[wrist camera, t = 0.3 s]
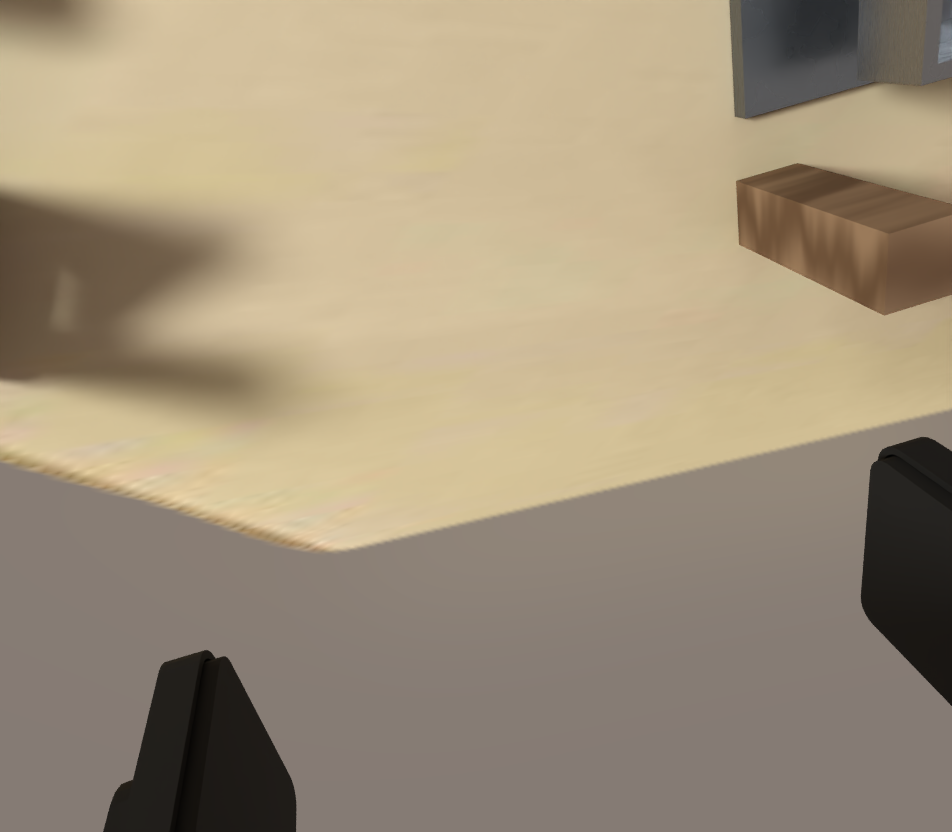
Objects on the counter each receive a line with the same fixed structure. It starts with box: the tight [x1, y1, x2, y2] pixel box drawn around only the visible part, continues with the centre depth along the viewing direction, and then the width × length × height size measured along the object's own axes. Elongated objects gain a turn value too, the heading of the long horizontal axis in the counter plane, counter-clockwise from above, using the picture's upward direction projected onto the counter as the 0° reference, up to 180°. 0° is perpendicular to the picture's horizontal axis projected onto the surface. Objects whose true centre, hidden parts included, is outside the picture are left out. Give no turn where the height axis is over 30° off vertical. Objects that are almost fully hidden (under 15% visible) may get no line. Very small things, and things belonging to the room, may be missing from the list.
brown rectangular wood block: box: [736, 163, 952, 315], centre depth 42 cm, size 4×4×14 cm
